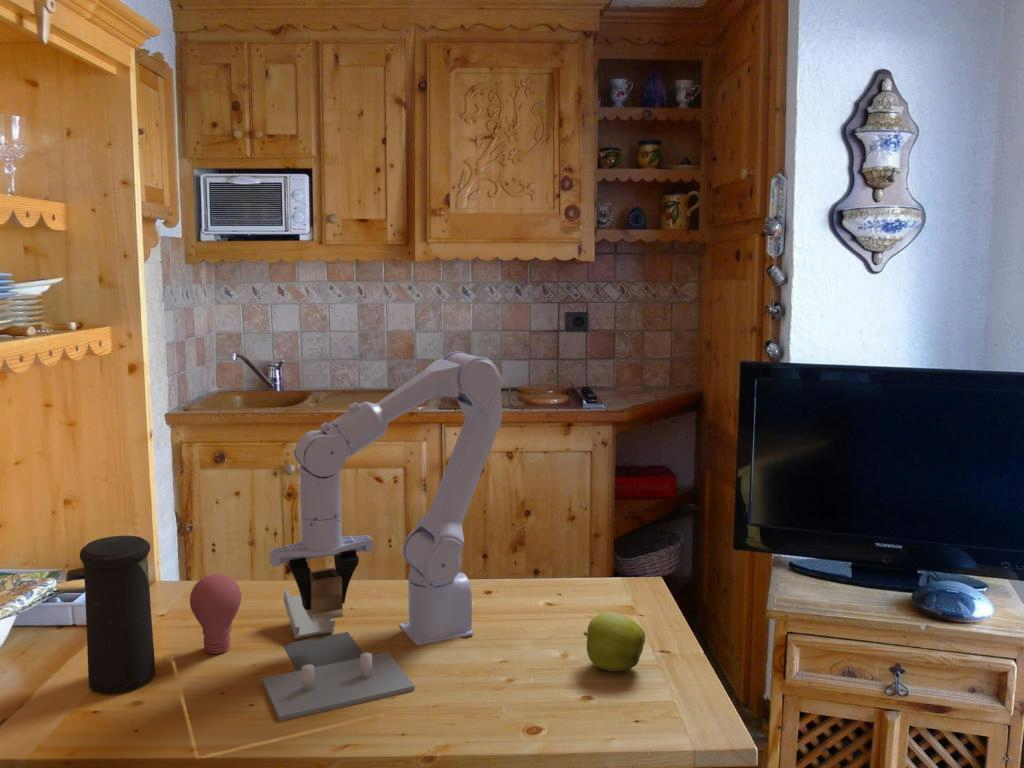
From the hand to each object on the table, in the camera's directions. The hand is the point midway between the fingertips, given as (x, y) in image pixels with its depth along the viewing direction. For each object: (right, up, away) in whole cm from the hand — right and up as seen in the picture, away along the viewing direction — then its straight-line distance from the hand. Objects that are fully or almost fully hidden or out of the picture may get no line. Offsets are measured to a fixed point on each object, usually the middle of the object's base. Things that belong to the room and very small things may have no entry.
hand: (323, 604), depth 127 cm
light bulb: (-16, -8, +1) cm, 18 cm away
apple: (+42, -9, -2) cm, 43 cm away
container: (-26, -9, -7) cm, 28 cm away
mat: (0, -8, +1) cm, 8 cm away
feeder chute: (-4, -6, +9) cm, 12 cm away
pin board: (+4, -9, -9) cm, 13 cm away
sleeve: (0, -1, 0) cm, 2 cm away
